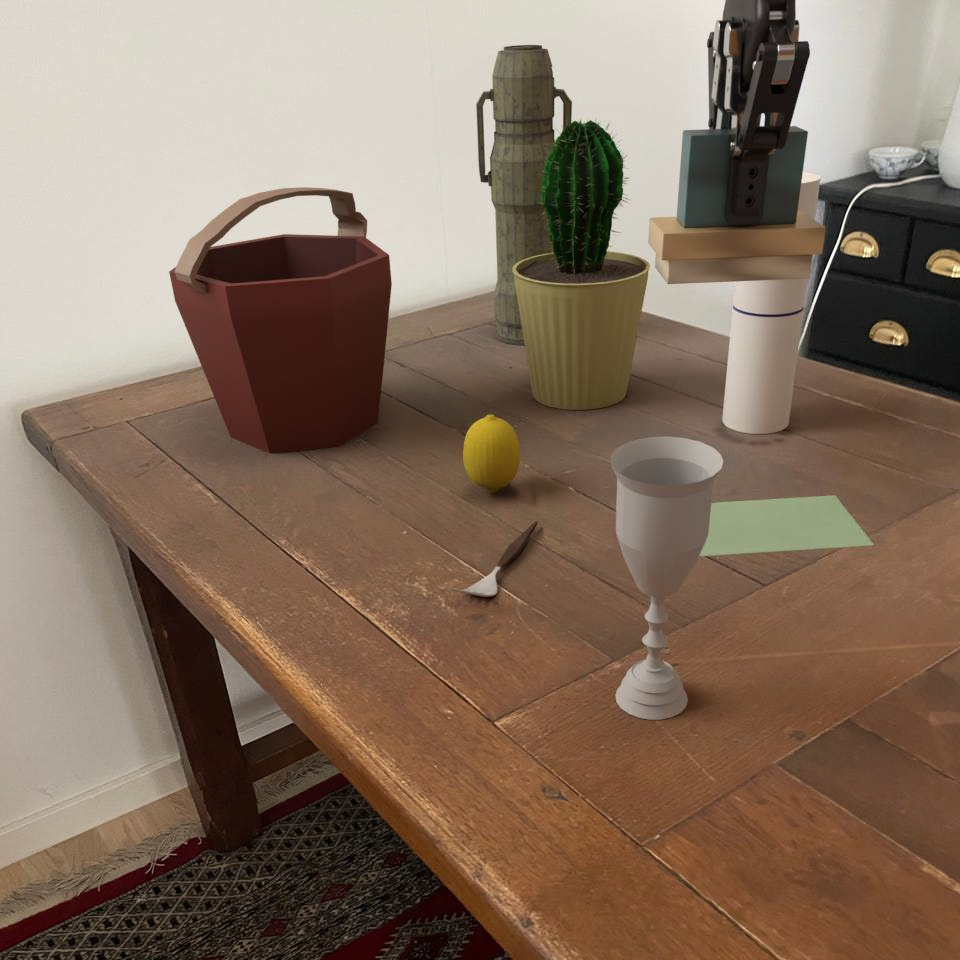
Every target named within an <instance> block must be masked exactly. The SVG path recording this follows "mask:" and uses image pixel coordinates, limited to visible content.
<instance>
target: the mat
mask: <svg viewBox="0 0 960 960" xmlns="http://www.w3.org/2000/svg"><path fill="white" fill-rule="evenodd" d="M874 546H875V543H874V542H873V541H872V540H871V539H870V537H869V536H868V535H867V533H866V532H865V531H864V529H863V528H862V527H861V526H860V525H859V523H858V522H857V521H856V520H855V518H854V517H853V516H852V515H851V513H850V511H848V509H847V508H846V507H845V506H844V504H842V502H841V501H840V499H839V498H838V497H837V495H835V494H833V495H832V494H831V495H818V496H800V497H784V498H767V499H753V500H737V501H721V502H711V512H710V523H709V533H708V537H707V540H706V542H705V544H704V546H703V548H702V551H701V553H700V555H699V557H715V556H728V555H729V556H733V555H747V554H763V553H764V554H765V553H779V552H795V551H796V552H797V551H809V550H810V551H811V550H826V549H842V548H857V547H859V548H860V547H874ZM699 557H698V558H699Z"/></svg>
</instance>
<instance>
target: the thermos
mask: <svg viewBox="0 0 960 960" xmlns="http://www.w3.org/2000/svg"><path fill="white" fill-rule="evenodd" d="M492 71H493V72H492V74H491V75H492V76H491V78H492V88H490V89H489V90H486V91H483V92H482V93H481V95H480V96H479V98H478V100H477V101H476V104H475V108H476V132H477V133H476V135H477V160H478V161H477V163H478V172H479V179H480V183H484V184H485V183H487V184H488V187H490V198H491V200H490V201H491V203H492V205H493V207H494V210H495V211H494V214H495V241H496V242H495V244H496V246H495V247H496V271H497V272H496V274H497V281H496V283H495V289H494V293H493V307H494V308H493V309H494V310H493V311H494V319H495V322H496V331H495V332H496V333H495V335H496V339H497V340H499V341H500V342H502V343H506V344H509V345H518V346H525V344H524V337H523V331H522V325H521V319H520V313H519V306H518V300H517V294H516V288H515V281H514V273H513V272H512V267H513V266H514V265H515V264H516V263H518V262H519V261H522V260H524V259H527V258H530V257H533V256H537V255H542V254H548V253H552V252H553V248H552V245H550V244H551V243H545V242H550V235H548V236H547V234H548V233H549V231H548V230H549V228H548V216H547V214H546V212H545V210H544V208H543V207H542V206H543V205H542V204H535V203H540V202H541V187H542V185H543V184H542V178H543V176H542V175H541V174H543V173H544V172H543V171H544V168H545V162H546V160H547V158H548V156H549V153H550V154H551V153H552V150H553V145H554V144H553V145H552V143H554V142H556V141H554V140H555V128H554V118H555V99H556V98H558V97H559V99H560V100H561V102H562V111H563V112H562V128H565V127H566V125H568V123H569V124H570V123H572V117H573V114H572V113H573V101H572V100H571V98H570V97H569V96H568V93H567V92H566V91H565V89H564V88H563V89H562V88H561V89H560V88H557V87H556V86H555V77H554V71H553V63H552V59H551V56H550V53H549V49H548V48H543V45H542V44H518V45H508V46H503V49H502V50H499V51H497V54H496V58H495V62H494V66H493V70H492ZM486 100H490V102H492V111H493V112H492V114H493V120H494V123H495V130H494V132H493V145H492V148H491V153H490V156H489V167H490V170H489V171H488V172H487V174H486V160H485V159H486V153H485V152H486V151H485V150H486V149H485V125H484V124H485V123H484V105H485V102H486ZM566 119H568V120H567V122H566ZM568 121H569V122H568ZM553 137H554V138H553ZM553 139H554V140H553ZM547 141H548V142H547ZM551 142H552V143H551ZM550 143H551V144H550ZM545 145H546V146H547V147H545ZM548 146H549V147H550V148H548ZM551 147H552V149H551ZM547 151H548V152H549V153H548V152H547ZM544 157H545V158H546V159H544ZM544 161H545V162H544ZM536 172H537V173H536ZM539 173H541V174H539ZM536 174H538V175H536ZM539 175H541V176H539ZM538 186H540V187H538ZM537 187H538V188H537ZM536 188H537V189H536ZM539 198H540V199H539ZM537 205H538V206H537ZM539 207H541V208H539ZM537 208H538V209H537ZM543 210H544V211H543ZM542 211H543V212H542ZM543 213H544V214H545V215H544V214H543ZM541 214H543V215H541ZM540 215H541V216H540ZM539 216H540V217H539ZM543 217H544V218H543ZM542 218H543V219H542ZM541 219H542V220H541ZM540 220H541V221H540ZM546 220H547V221H546ZM545 225H546V226H545ZM549 234H550V233H549ZM545 236H546V237H545ZM550 247H551V248H550ZM549 248H550V249H549ZM547 249H548V250H547ZM546 250H547V251H546ZM553 253H554V252H553Z"/></svg>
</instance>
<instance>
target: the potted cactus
mask: <svg viewBox="0 0 960 960" xmlns="http://www.w3.org/2000/svg"><path fill="white" fill-rule="evenodd" d="M594 119H595V120H594V121H593V120H591V119H590V120H589V119H588V118H587V119H586V120H587V121H586V122H583V121H582V119H580V120H579V121H577V120H573V121H571V123H570V124H569V123H568V125H566V127H565V128H563V127H561V128H562V131H561V132H560V131H559V129H556V131H557V132H558V133H559V136H557V137H556V139H555V136H554V137H553V138H554V139H553V140H554V141H555V142H554V143H552V142H551V143H552V145H553V144H554V145H553V150H552V153H551V154H550V153H549V152H548V151H547V152H548V153H549V156H548V158H547V160H546V162H545V161H544V162H545V168H544V171H543V172H544V173H543V174H541V173H539V174H541V175H542V176H543V178H542V184H543V185H542V187H541V202H540V203H535V204H542V205H543V206H542V207H543V208H544V210H545V212H546V214H547V216H548V228H549V230H548V231H549V233H550V234H549V233H548V234H547V236H548V235H550V242H545V243H551V244H550V245H552V248H553V252H554V253H553V252H552V253H548V254H542V255H537V256H533V257H530V258H527V259H524V260H522V261H519V262H518V263H516V264H515V265H514V266H513V267H512V272H513V273H514V281H515V288H516V294H517V300H518V306H519V313H520V319H521V325H522V331H523V337H524V344H525V345H524V350H525V357H526V363H527V368H528V375H529V381H530V386H531V387H530V388H531V393H532V396H533V398H534V400H536V401H537V402H538V403H540V404H542V405H544V406H547V407H549V408H554V409H560V410H569V411H586V410H589V411H590V410H596V409H603V408H606V407H610V406H613V405H615V404H617V403H619V402H621V401H622V400H623V399H625V397H626V395H627V392H628V388H629V381H630V377H631V371H632V366H633V361H634V354H635V350H636V343H637V339H638V333H639V329H640V323H641V317H642V312H643V306H644V300H645V295H646V290H647V285H648V280H649V271H650V268H651V265H650V263H649V261H647V260H646V259H644V258H642V257H640V256H637V255H634V254H629V253H626V252H618V251H609V250H608V249H609V248H610V247H611V248H612V247H613V248H614V246H612V245H610V241H611V232H612V233H614V235H616V233H617V234H618V233H619V234H621V233H623V232H622V231H616V230H613V229H612V227H613V220H614V221H615V220H618V217H615V216H617V214H616V213H615V210H616V209H620V206H621V207H624V206H623V205H624V204H623V203H622V202H624V203H627V205H628V204H629V205H630V203H629V202H627V200H628V201H631V199H630V198H628V196H629V194H625V193H624V189H625V188H624V187H625V186H626V185H627V179H629V177H624V171H623V170H624V162H625V159H626V157H628V154H627V153H626V154H625V156H624V152H622V150H620V149H619V147H620V145H621V144H620V145H618V143H620V142H621V141H622V139H620V140H619V141H618V143H616V142H615V141H614V138H615V137H616V136H617V134H614V135H613V137H612V136H611V135H612V134H613V131H611V132H610V133H609V132H607V130H608V129H609V126H610V124H611V122H607V125H606V127H605V128H603V127H601V125H600V123H599V122H597V118H594ZM567 120H568V119H566V122H567ZM568 122H569V121H568ZM547 142H548V141H547ZM551 143H550V144H551ZM617 145H618V146H617ZM545 147H547V146H546V145H545ZM548 148H550V147H549V146H548ZM551 149H552V147H551ZM621 152H622V153H621ZM544 159H546V158H545V157H544ZM626 169H629V168H628V167H626ZM536 173H537V172H536ZM536 175H538V174H536ZM541 175H539V176H541ZM538 187H540V186H538ZM538 187H537V188H538ZM537 188H536V189H537ZM623 195H625V196H627V197H624V196H623ZM539 199H540V198H539ZM624 199H626V200H624ZM537 206H538V205H537ZM539 208H541V207H539ZM537 209H538V208H537ZM544 210H543V211H544ZM543 211H542V212H543ZM543 214H544V213H543ZM543 214H541V215H543ZM541 215H540V216H541ZM544 215H545V214H544ZM614 215H615V216H614ZM540 216H539V217H540ZM543 218H544V217H543ZM543 218H542V219H543ZM542 219H541V220H542ZM541 220H540V221H541ZM546 221H547V220H546ZM615 223H616V221H615ZM545 226H546V225H545ZM545 237H546V236H545ZM550 248H551V247H550ZM550 248H549V249H550ZM547 250H548V249H547ZM547 250H546V251H547Z"/></svg>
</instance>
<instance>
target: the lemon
mask: <svg viewBox="0 0 960 960" xmlns="http://www.w3.org/2000/svg"><path fill="white" fill-rule="evenodd" d="M520 447H521V446H520V441H519V439H518V436H517V433H516V431H515V429H514V427H513V426H512V425H511V424H510V423H509V422H508V421H506V420H505V419H502V418H500V417H496V416H495V415H494V414H487V415H485V417H482V418H480V419H478V420H477V421H475V422H474V423H473V424H472V425H471V426H470V427H469V429H468V431H467V432H466V434H465V437H464V442H463V450H462V457H463V458H462V461H463V465H464V469H465V472H466V474H467V476H468V477H469V479H470V480H471V481H472V482H473V483H474V484H475V485H477V486H478V487H480V488H482V489H486V490H487V491H488V492H490V493H493V494H494V493H496V492H497V491H499V489H501V488H503V487H506V486H507V485H509V484H510V483H511V482H512V481H513V480H514V478H516V476H517V473H518V471H519V468H520V463H521V448H520Z"/></svg>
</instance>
